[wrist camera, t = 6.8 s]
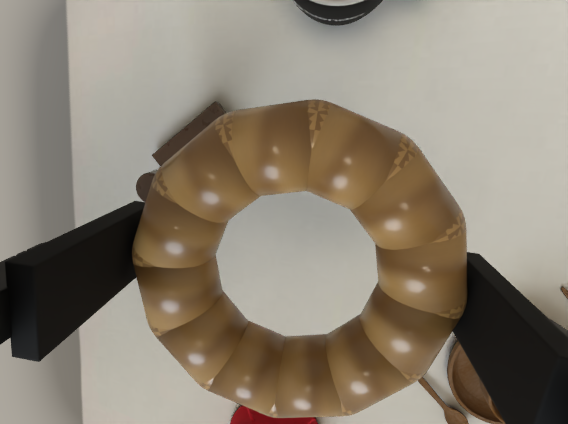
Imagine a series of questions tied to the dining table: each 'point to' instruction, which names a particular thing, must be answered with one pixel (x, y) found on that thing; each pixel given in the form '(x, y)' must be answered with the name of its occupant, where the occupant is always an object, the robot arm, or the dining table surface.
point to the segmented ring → (334, 187)
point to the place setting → (467, 390)
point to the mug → (337, 10)
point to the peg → (179, 144)
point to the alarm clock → (265, 418)
